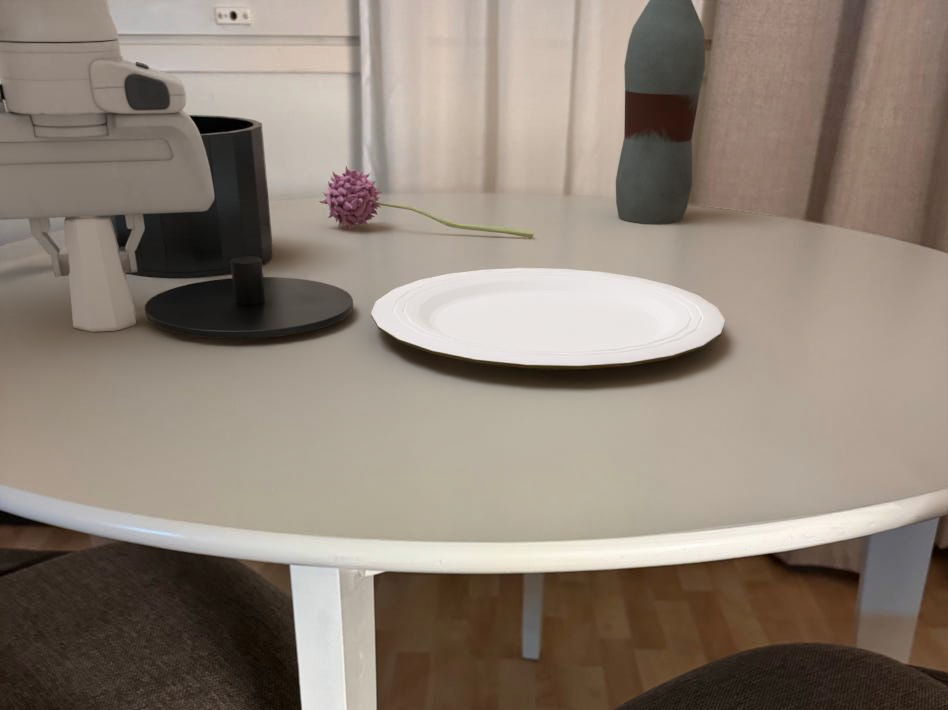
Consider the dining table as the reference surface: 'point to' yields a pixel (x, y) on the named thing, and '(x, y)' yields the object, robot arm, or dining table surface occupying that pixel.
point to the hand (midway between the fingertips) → (97, 273)
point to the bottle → (660, 112)
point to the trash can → (212, 209)
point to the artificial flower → (358, 201)
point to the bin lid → (248, 305)
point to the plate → (548, 318)
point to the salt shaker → (97, 276)
